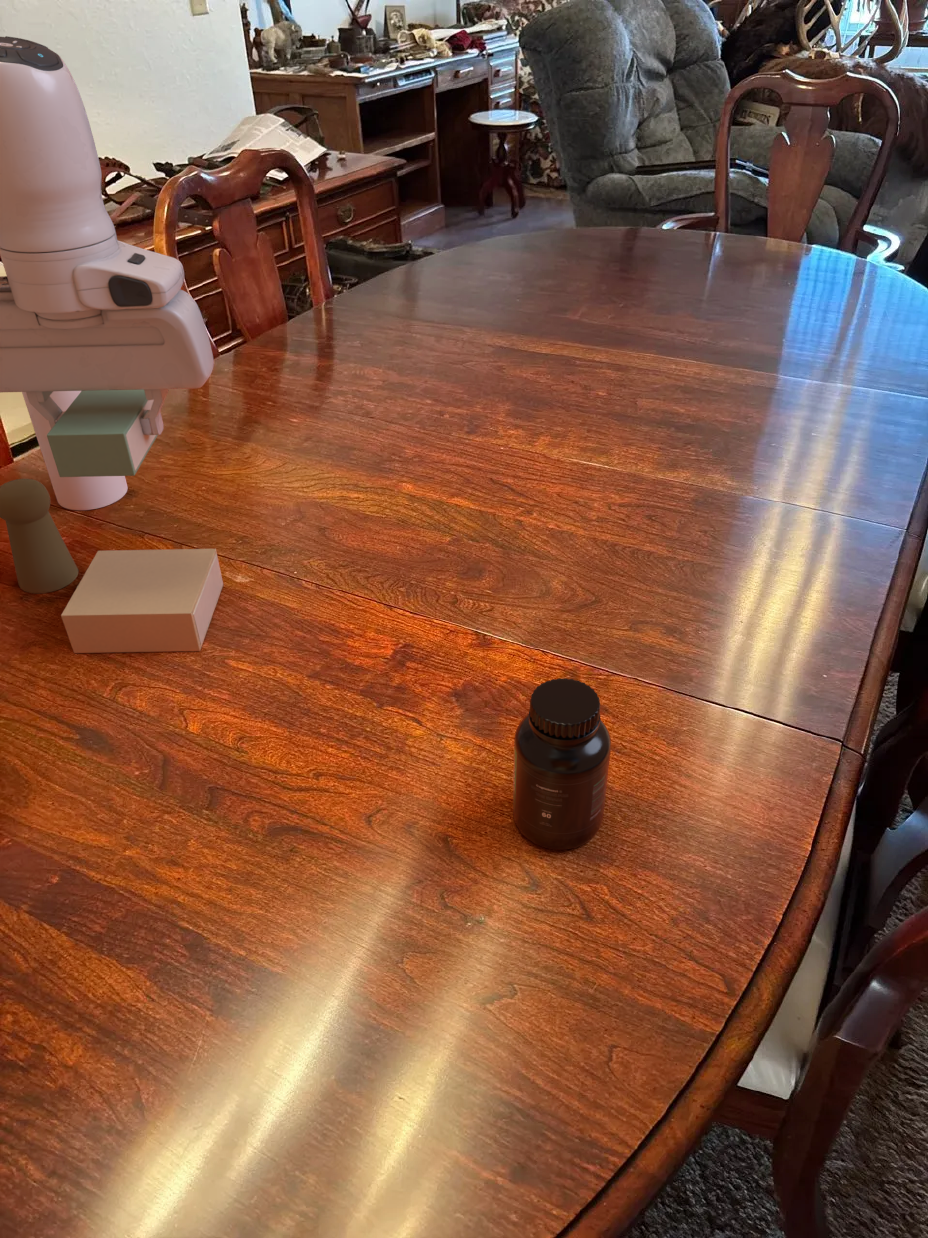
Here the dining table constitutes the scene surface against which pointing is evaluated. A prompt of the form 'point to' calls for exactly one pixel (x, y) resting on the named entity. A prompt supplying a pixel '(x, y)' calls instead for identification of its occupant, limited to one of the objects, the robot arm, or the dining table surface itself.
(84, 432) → the sage green brick
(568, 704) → the supplement bottle
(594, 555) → the dining table surface
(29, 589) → the olive pawn piece
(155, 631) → the tan flat block
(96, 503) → the cup
